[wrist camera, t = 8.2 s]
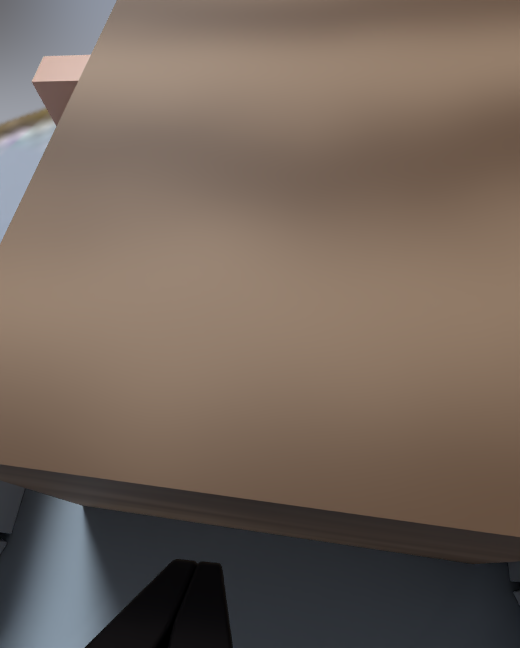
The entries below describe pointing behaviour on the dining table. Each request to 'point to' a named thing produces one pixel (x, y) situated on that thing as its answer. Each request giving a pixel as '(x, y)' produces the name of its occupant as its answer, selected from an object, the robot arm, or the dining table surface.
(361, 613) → the dining table surface
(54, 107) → the box pocket
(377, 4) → the walnut box
